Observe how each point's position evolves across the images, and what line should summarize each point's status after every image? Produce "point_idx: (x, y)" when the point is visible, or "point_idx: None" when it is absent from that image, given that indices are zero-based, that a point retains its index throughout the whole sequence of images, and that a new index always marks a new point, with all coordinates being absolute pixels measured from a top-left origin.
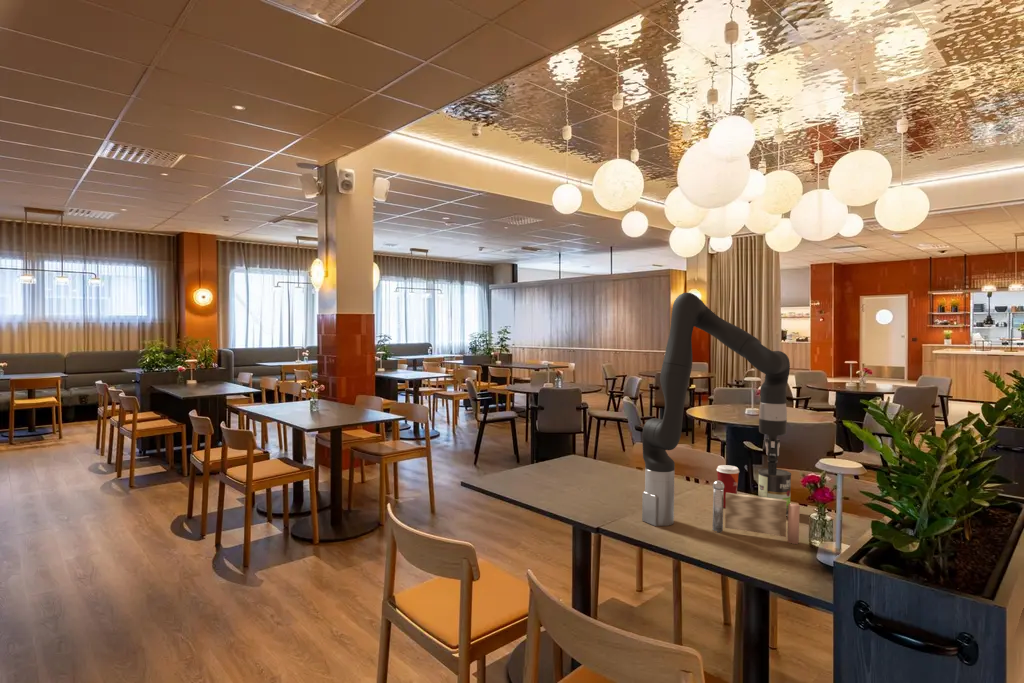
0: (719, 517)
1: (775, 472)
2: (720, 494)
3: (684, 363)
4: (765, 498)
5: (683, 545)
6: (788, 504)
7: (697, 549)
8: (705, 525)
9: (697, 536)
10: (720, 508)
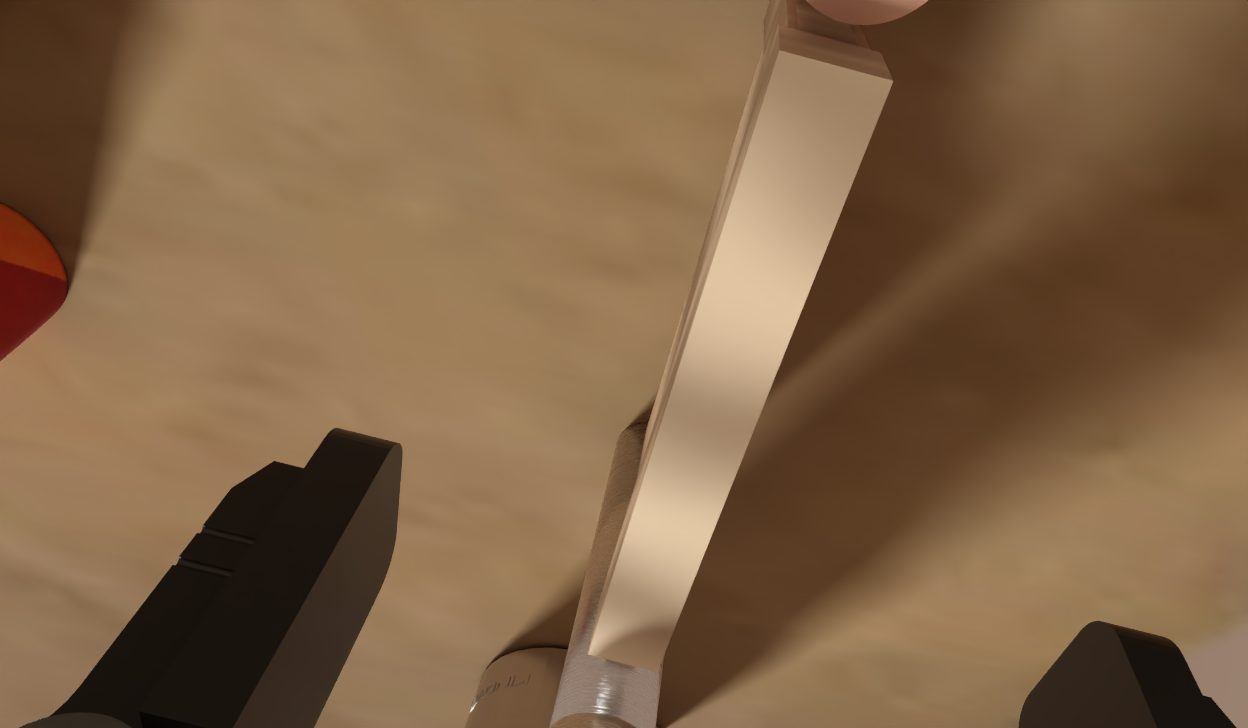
0: None
1: (1186, 703)
2: (656, 699)
3: None
4: (748, 340)
5: (968, 671)
6: (843, 18)
7: (1037, 624)
8: (555, 497)
9: (794, 580)
10: None
